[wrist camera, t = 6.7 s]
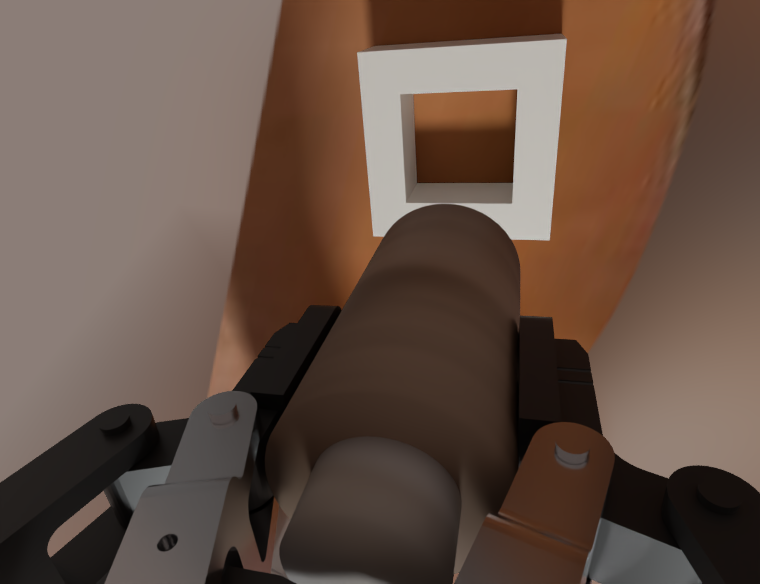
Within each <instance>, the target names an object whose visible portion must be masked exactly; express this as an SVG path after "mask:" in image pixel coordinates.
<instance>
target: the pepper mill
mask: <svg viewBox="0 0 760 584" xmlns="http://www.w3.org/2000/svg"><path fill="white" fill-rule="evenodd" d="M519 322H520V263H519V258H518V254H517V251H516V248H515V246H514V244H513V242H512V240H511V239H510V237H509V236H508V235H507V233H506V232H505V231H504V230H503V228H502V227H501V226H500V225H499V224H498V223H496V222H495V221H494V220H493V219H491V218H490V217H488V216H487V215H485V214H483V213H481V212H479V211H477V210H475V209H472V208H469V207H466V206H461V205H456V204H433V205H428V206H424V207H421V208H418V209H415V210H413V211H411V212H409V213H407V214H406V215H404V216H403V217H401V218H400V219H399V220H397V221H396V222H395V223H394V224H393V225H392V226H391V228H390V229H389V230H388V231H387V233H386V234H385V236H384V238H383V239H382V241H381V243H380V245H379V246H378V248H377V250H376V252H375V253H374V255H373V257H372V259H371V260H370V262H369V264H368V266H367V267H366V269H365V271H364V273H363V274H362V276H361V278H360V280H359V281H358V283H357V285H356V287H355V288H354V290H353V292H352V294H351V295H350V297H349V299H348V301H347V302H346V304H345V306H344V308H343V309H342V311H341V313H340V315H339V316H338V318H337V320H336V321H335V323H334V325H333V327H332V328H331V330H330V332H329V334H328V335H327V337H326V339H325V341H324V342H323V344H322V346H321V348H320V349H319V351H318V353H317V355H316V356H315V358H314V360H313V362H312V363H311V365H310V367H309V369H308V370H307V372H306V374H305V376H304V377H303V379H302V381H301V383H300V384H299V386H298V388H297V390H296V391H295V393H294V395H293V397H292V398H291V400H290V402H289V404H288V405H287V407H286V409H285V410H284V412H283V414H282V416H281V417H280V419H279V421H278V423H277V424H276V426H275V428H274V430H273V431H272V433H271V435H270V437H269V440H268V443H267V446H266V452H265V471H266V476H267V480H268V483H269V486H270V489H271V491H272V493H273V495H274V497H275V499H276V501H277V503H278V504H279V505H280V507H281V508H282V510H283V511H284V513H285V514H286V515H287V516H288V517H289V519H290V522H289V524H288V527H287V529H286V531H285V534H284V536H283V538H282V540H281V543H280V548H279V556H280V561H281V564H282V567H283V570H284V572H285V573H286V575H287V577H288V578H289V580H291V581H293V582H294V583H296V584H452V583H453V576H454V574H456V573H459V572H460V570H461V568H462V566H463V564H464V562H465V560H466V557H467V555H468V553H469V551H470V549H471V547H472V545H473V543H474V540H475V538H476V536H477V534H478V532H479V530H480V528H481V526H482V524H483V522H484V520H485V518H486V516H487V515H488V514H489V513H490V512H495V513H497V514H498V512H499V511H500V509H501V507H502V504H503V502H504V500H505V498H506V496H507V493H508V491H509V489H510V487H511V484H512V482H513V480H514V478H515V475H516V473H517V471H518V469H519V460H518V448H517V445H518V366H519Z"/></svg>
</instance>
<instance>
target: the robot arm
mask: <svg viewBox="0 0 760 584" xmlns="http://www.w3.org/2000/svg"><path fill="white" fill-rule="evenodd" d="M341 311H342V310H341V308H340V307H339V306H321V305H310V306H309V307H308V308H307V310H306V311H305V313H304V314H303V316H302V317H301V319H300V320H299V322H298V323H289V324H288V325H286V326H285V327H283V328H282V329H280V330H279V331H277V332H276V333H274V335H273V336H272V337H271V339H270V340H269V341H268V343H267V344H266V345H265V348H263V350H262V351H261V352H260V354H259V355H258V358H257V359H255V360H254V362H253V363H252V365H251V366H250V367H249V369H248V370H247V371H246V373H245V374H244V375H243V377H242V378H241V379H240V381H239V382H238V384H237V385H236V386H235V388H234V389H233V390H232V391H228V392H222V393H219V394H216V395H213V396H211V397H209V398H207V399H205V400H204V401H202V402H201V403H200V404H198V405H197V406H196V408H195V409H194V410H193V411H192V413H191V415H190V417H189V418H187V419H179V420H172V421H164V422H157V423H155V420H154V418H153V415H152V413H151V410H150V409H149V408H148V407H146V406H144V405H140V404H126V405H121V406H117V407H114V408H111V409H109V410H107V411H105V412H103V413H101V414H99V415H98V416H96V417H95V418H93V419H92V420H90V421H89V422H87V423H86V424H85V425H83V426H82V427H80V428H79V429H77V430H76V431H75V432H73V433H72V434H70V435H69V436H67V437H66V438H64V439H63V440H61V441H60V442H59V443H57V444H56V445H54V446H53V447H51V448H50V449H48V450H47V451H45V452H44V453H43V454H41V455H40V456H38V457H37V458H35V459H34V460H33V461H31V462H30V463H28V464H27V465H25V466H24V467H22V468H21V469H20V470H18V471H17V472H15V473H14V474H12V475H11V476H9V477H8V478H6V479H5V480H4V481H2V482H1V483H0V584H296V583H294V582H293V581H291V580H289V578H288V577H287V575H286V573H285V572H284V570H283V567H282V564H281V561H280V556H279V548H280V543H281V540H282V538H283V536H284V534H285V531H286V529H287V527H288V524H289V522H290V519H289V517H288V516H287V515H286V514H285V513H284V511H283V510H282V508H281V507H280V505H279V504H278V503H277V501H276V499H275V497H274V495H273V493H272V491H271V489H270V486H269V483H268V480H267V476H266V471H265V452H266V446H267V443H268V440H269V437H270V435H271V433H272V431H273V430H274V428H275V426H276V424H277V423H278V421H279V419H280V417H281V416H282V414H283V412H284V410H285V409H286V407H287V405H288V404H289V402H290V400H291V398H292V397H293V395H294V393H295V391H296V390H297V388H298V386H299V384H300V383H301V381H302V379H303V377H304V376H305V374H306V372H307V370H308V369H309V367H310V365H311V363H312V362H313V360H314V358H315V356H316V355H317V353H318V351H319V349H320V348H321V346H322V344H323V342H324V341H325V339H326V337H327V335H328V334H329V332H330V330H331V328H332V327H333V325H334V323H335V321H336V320H337V318H338V316H339V315H340V313H341ZM517 448H518V460H519V469H518V471H517V473H516V475H515V478H514V480H513V482H512V484H511V487H510V489H509V491H508V493H507V496H506V498H505V500H504V502H503V504H502V507H501V509H500V511H499V512H498V514H497V513H495V512H490V513H489V514H488V515H487V516H486V518H485V520H484V522H483V524H482V526H481V528H480V530H479V532H478V534H477V536H476V538H475V540H474V543H473V545H472V547H471V549H470V551H469V553H468V555H467V557H466V560H465V562H464V564H463V566H462V568H461V570H460V572H459V574H458V577H457V579H456V581H455V583H454V584H592V580H594V581H597V582H598V583H601V584H760V493H759V492H758V491H757V490H756V489H755V488H754V487H752V486H751V485H750V484H749V483H747V482H746V481H744V480H743V479H741V478H739V477H737V476H735V475H734V474H731V473H729V472H727V471H724V470H721V469H718V468H714V467H709V466H699V465H698V466H687V467H683V468H681V469H678V470H677V471H675V472H674V473H673V474H672V475H671V476H670V477H669V479H668V478H665V477H662V476H659V475H656V474H654V473H651V472H648V471H645V470H642V469H640V468H637V467H635V466H633V465H631V464H629V463H628V462H626V461H624V460H623V459H621V458H620V457H619V456H618V455H616V454H615V453H614V451H613V448H612V446H611V445H610V443H609V442H608V441H607V440H606V438H605V437H603V434H602V429H601V424H600V418H599V412H598V407H597V401H596V396H595V390H594V386H593V379H592V374H591V368H590V362H589V357H588V353H587V352H586V351H585V350H584V349H583V348H582V347H581V345H580V344H579V343H578V342H577V341H576V340H567V339H554V330H553V319H552V317H537V316H520V322H519V366H518V445H517ZM103 490H104V492H105V495H106V497H107V499H108V501H109V503H110V505H111V507H109V508H108V509H107V510H106V511H105V512H104V513H103V514H101V515H100V516H99V517H98V518H97V519H95V520H94V521H93V522H92V523H91V524H90V525H88V526H87V527H86V528H85V529H84V530H83V531H81V532H80V533H79V534H78V535H77V536H75V537H74V538H73V539H72V540H71V541H70V542H68V543H67V544H66V545H65V546H64V547H63V548H61V549H60V550H59V551H58V552H57V553H56V554H54V555H53V556H52V557H51V558H50V557H49V555H48V552H47V546H48V542H49V540H50V537H51V536H52V535H53V533H54V532H55V531H56V529H57V528H58V527H60V526H61V525H62V524H63V523H64V522H66V521H67V520H68V519H69V518H70V517H72V516H73V515H74V514H75V513H76V512H78V511H79V510H80V509H81V508H83V507H84V506H85V505H86V504H88V503H89V502H90V501H91V500H92V499H94V498H95V497H96V496H97V495H99V494H100V493H101V492H102V491H103Z"/></svg>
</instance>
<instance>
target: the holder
mask: <svg viewBox="0 0 760 584" xmlns="http://www.w3.org/2000/svg"><path fill="white" fill-rule="evenodd" d="M566 42H567V39H566V38H565V36H564V35H563V34H548V35H533V36H518V37H503V38H487V39H472V40H457V41H442V42H427V43H412V44H397V45H382V46H373V47H370V48H368V49H365V50H362V51H360V52H357V56H358V67H359V78H360V90H361V101H362V112H363V124H364V135H365V146H366V158H367V169H368V181H369V192H370V203H371V215H372V226H373V236H385V234H386V233H387V231H388V230H389V229H390V228H391V226H392V225H393V224H394V223H395V222H396V221H397V220H399V219H400V218H401V217H403V216H404V215H406V214H407V213H409V212H411V211H413V210H415V209H418V208H421V207H424V206H428V205H433V204H456V205H461V206H466V207H469V208H472V209H475V210H477V211H479V212H481V213H483V214H485V215H487V216H488V217H490V218H491V219H493V220H494V221H495V222H496V223H498V224H499V225H500V226H501V227H502V228H503V230H504V231H505V232H506V233H507V235H508V236H509V237H510V239H517V240H550V229H551V217H552V206H553V194H554V182H555V171H556V159H557V147H558V136H559V124H560V112H561V100H562V89H563V77H564V65H565V54H566ZM511 89H518V90H517V111H516V133H515V154H514V175H513V183H417V169H416V146H415V123H414V99H413V94H419V93H442V92H465V91H488V90H511Z"/></svg>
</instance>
